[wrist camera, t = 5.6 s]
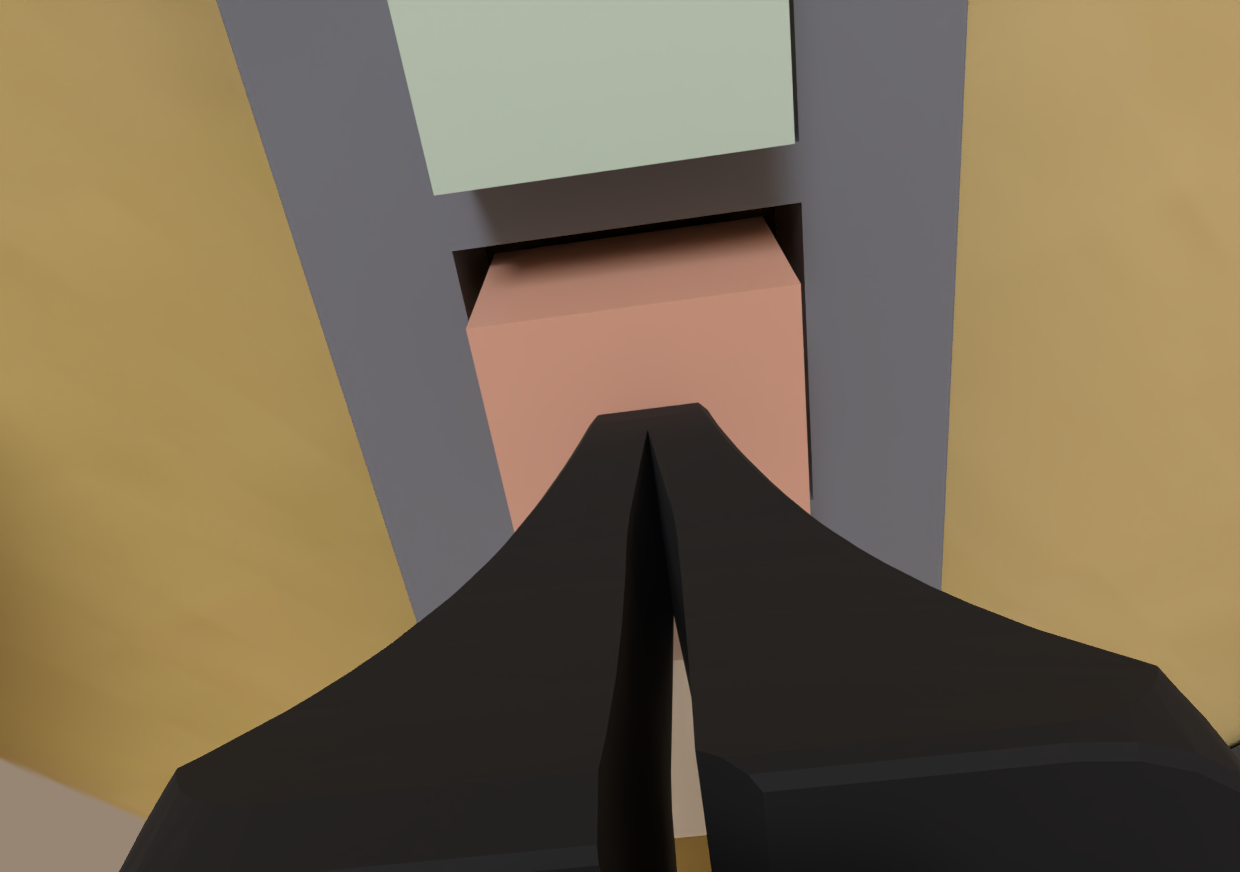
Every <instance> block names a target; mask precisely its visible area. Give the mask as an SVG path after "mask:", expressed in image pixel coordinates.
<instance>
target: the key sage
mask: <svg viewBox="0 0 1240 872" xmlns="http://www.w3.org/2000/svg"><path fill="white" fill-rule="evenodd" d="M387 1H388V5H389V9H390V14H391V18H392V22H393V26H394V30H395V35H396V39H397V43H398V47H399V51H400V56H401V60H402V64H403V68H404V72H405V76H406V81H407V85H408V89H409V93H410V97H411V102H412V106H413V110H414V114H415V118H416V123H417V127H418V131H419V135H420V139H421V143H422V148H423V152H424V156H425V160H426V164H427V169H428V173H429V177H430V181H431V185H432V190H433V194H434V196H435V195H442V194H449V193H456V192H463V191H470V190H477V189H484V188H491V187H497V186H504V185H511V184H518V183H525V182H532V181H539V180H546V179H553V178H560V177H567V176H574V175H581V174H588V173H595V172H602V171H609V170H616V169H623V168H630V167H637V166H644V165H651V164H657V163H664V162H671V161H678V160H685V159H692V158H699V157H706V156H713V155H720V154H727V153H734V152H741V151H748V150H755V149H762V148H769V147H776V146H783V145H790V144H795V134H794V110H793V86H792V62H791V39H790V15H789V0H387Z"/></svg>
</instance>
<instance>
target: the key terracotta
mask: <svg viewBox="0 0 1240 872" xmlns="http://www.w3.org/2000/svg"><path fill="white" fill-rule="evenodd" d="M466 332H467V336H468V340H469V344H470V349H471V353H472V357H473V361H474V365H475V370H476V374H477V378H478V382H479V386H480V391H481V395H482V399H483V403H484V407H485V411H486V416H487V420H488V424H489V428H490V432H491V437H492V441H493V445H494V449H495V453H496V458H497V462H498V466H499V470H500V474H501V478H502V483H503V487H504V491H505V495H506V499H507V504H508V508H509V512H510V516H511V520H512V524H513V529H514V532H515V531H516V530H517V529H518V527H519V526H520V525H521V524H522V523H523V521H524V520H525V519H526V518H527V517H528V515H529V514H530V513H531V512H532V510H533V509H534V508H535V507H536V505H537V504H538V503H539V501H540V500H541V499H542V497H543V496H544V494H545V493H546V492H547V490H548V489H549V487H550V486H551V485H552V483H553V482H554V480H555V479H556V478H557V476H558V475H559V473H560V472H561V470H562V469H563V468H564V466H565V464H566V463H567V461H568V460H569V458H570V457H571V455H572V454H573V452H574V450H575V449H576V447H577V446H578V444H579V442H580V441H581V439H582V437H583V436H584V434H585V432H586V431H587V429H588V427H589V426H590V424H591V423H592V422H593V420H594V419H595V418H596V417H597V416H598V415H602V414H610V413H618V412H626V411H634V410H642V409H650V408H658V407H666V406H673V405H681V404H689V403H697V402H698V403H700V404H701V405H702V406H704V407H705V408H706V409H707V410H708V411H709V412H710V414H711V416H712V417H713V418H714V420H715V421H716V423H717V424H718V425H719V427H720V428H721V429H722V430H723V432H724V433H725V434H726V435H727V436H728V437H729V439H730V440H731V441H732V442H733V443H734V444H735V445H736V447H737V448H738V449H739V450H740V451H741V452H742V453H743V454H744V455H745V456H746V457H747V458H748V459H749V460H750V461H751V462H752V463H753V464H754V465H755V466H756V467H757V468H758V469H759V470H760V471H761V472H762V473H763V474H764V475H765V476H766V477H767V478H768V479H769V480H770V481H771V482H772V483H773V484H774V485H776V486H777V487H778V488H779V489H780V490H781V491H782V492H783V493H784V494H786V495H787V496H788V497H789V498H790V499H792V500H793V501H794V502H795V503H796V504H798V505H799V506H800V507H801V508H803V509H804V510H805V511H806V512H807V513H809V514H810V491H809V467H808V443H807V420H806V396H805V372H804V348H803V324H802V300H801V283H800V282H799V280H798V278H797V276H796V275H795V273H794V271H793V269H792V268H791V266H790V264H789V262H788V260H787V259H786V257H785V255H784V253H783V252H782V250H781V248H780V246H779V245H778V243H777V241H776V239H775V237H774V236H773V234H772V232H771V230H770V229H769V227H768V225H767V223H766V222H765V220H764V218H763V216H761V217H754V218H747V219H740V220H732V221H725V222H718V223H711V224H704V225H697V226H689V227H682V228H675V229H668V230H661V231H653V232H646V233H639V234H632V235H625V236H618V237H610V238H603V239H596V240H589V241H582V242H574V243H567V244H560V245H553V246H546V247H539V248H531V249H524V250H517V251H510V252H503V253H495V254H494V257H493V260H492V262H491V265H490V267H489V270H488V273H487V275H486V278H485V280H484V283H483V286H482V288H481V291H480V293H479V296H478V299H477V301H476V304H475V306H474V309H473V312H472V314H471V317H470V319H469V322H468V325H467V327H466Z"/></svg>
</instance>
